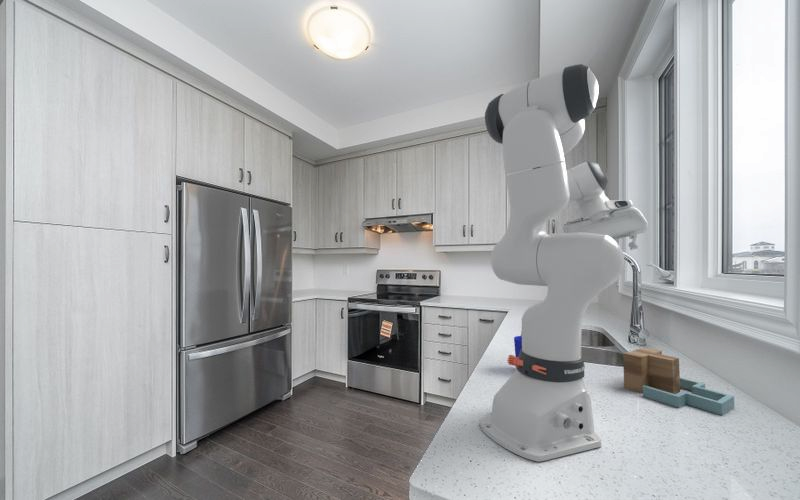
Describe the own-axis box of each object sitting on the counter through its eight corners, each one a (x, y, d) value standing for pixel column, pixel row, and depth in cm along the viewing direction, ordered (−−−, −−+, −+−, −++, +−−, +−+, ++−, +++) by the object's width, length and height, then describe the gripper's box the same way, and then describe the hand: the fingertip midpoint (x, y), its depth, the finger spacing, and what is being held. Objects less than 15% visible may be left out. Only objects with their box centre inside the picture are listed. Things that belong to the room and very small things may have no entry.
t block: (666, 400, 73) (665, 362, 73) (624, 387, 81) (623, 353, 81) (686, 390, 79) (685, 355, 79) (645, 379, 87) (644, 347, 87)
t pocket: (715, 419, 64) (715, 407, 64) (642, 396, 75) (642, 386, 76) (740, 403, 72) (739, 392, 72) (670, 384, 83) (670, 374, 83)
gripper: (561, 219, 96) (576, 257, 89) (636, 198, 89) (659, 238, 82) (561, 228, 101) (575, 265, 94) (632, 209, 94) (653, 248, 87)
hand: (615, 253), depth 88 cm, fingers open, 8 cm apart
